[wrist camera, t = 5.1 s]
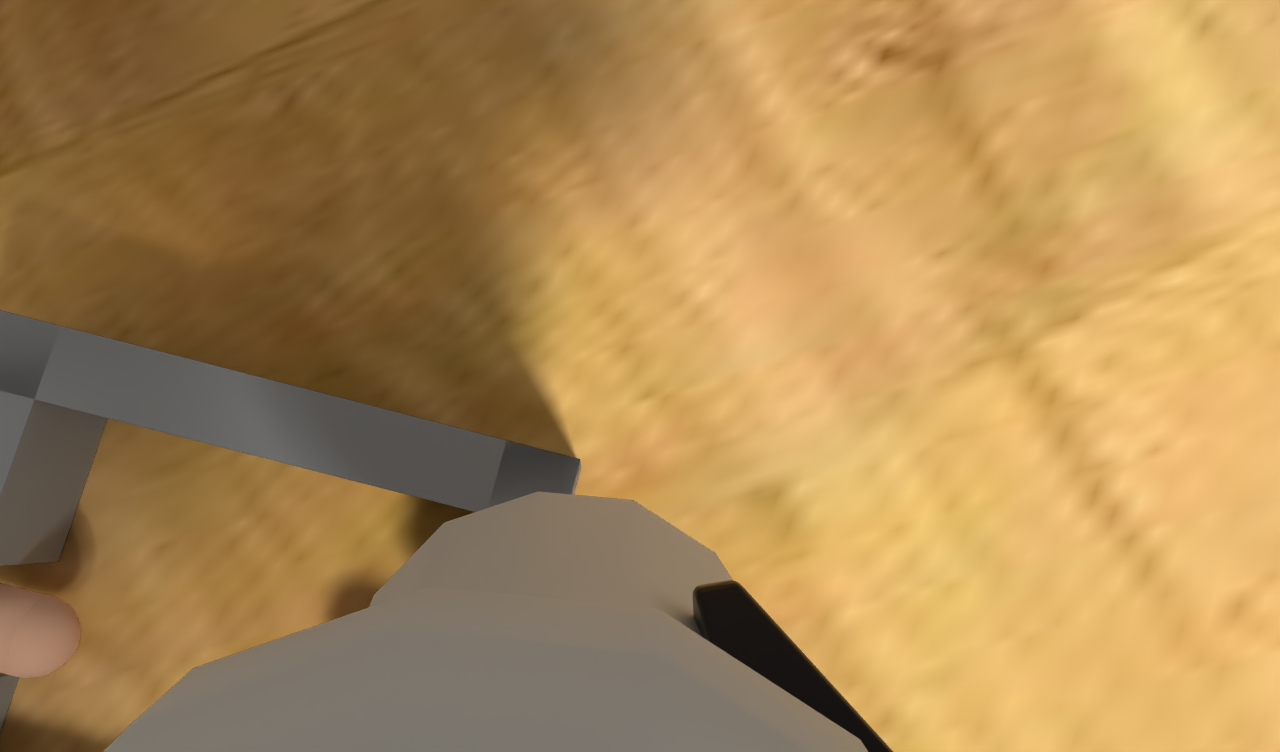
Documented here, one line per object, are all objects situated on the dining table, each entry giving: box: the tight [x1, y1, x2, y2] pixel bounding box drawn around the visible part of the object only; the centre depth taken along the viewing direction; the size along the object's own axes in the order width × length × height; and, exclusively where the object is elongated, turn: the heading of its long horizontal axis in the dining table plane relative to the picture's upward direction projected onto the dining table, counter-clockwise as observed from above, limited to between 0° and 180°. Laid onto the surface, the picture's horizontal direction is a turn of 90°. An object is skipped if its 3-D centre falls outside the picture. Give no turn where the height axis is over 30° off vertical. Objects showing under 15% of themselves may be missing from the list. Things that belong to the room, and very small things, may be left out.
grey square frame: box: [0, 310, 581, 731], centre depth 20 cm, size 12×12×3 cm
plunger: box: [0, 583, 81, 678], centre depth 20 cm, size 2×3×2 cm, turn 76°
